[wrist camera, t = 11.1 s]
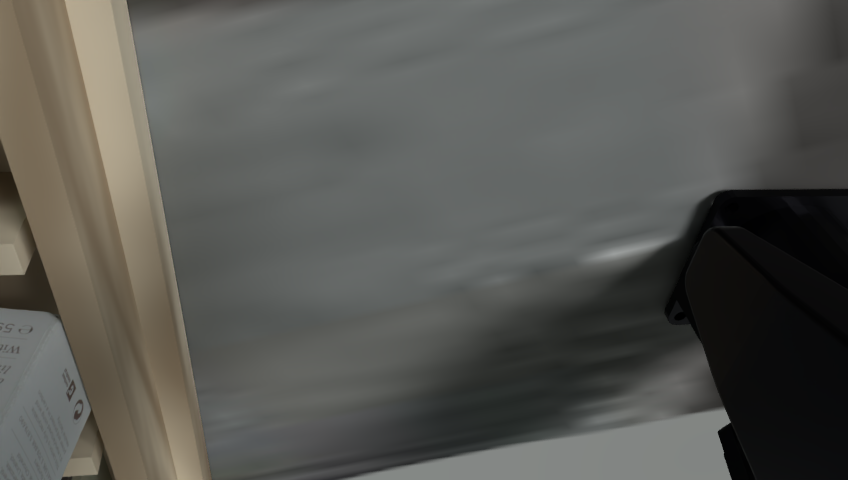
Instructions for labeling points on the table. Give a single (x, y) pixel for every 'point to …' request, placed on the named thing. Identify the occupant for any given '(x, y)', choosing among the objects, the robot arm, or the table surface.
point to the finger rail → (95, 234)
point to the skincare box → (38, 396)
